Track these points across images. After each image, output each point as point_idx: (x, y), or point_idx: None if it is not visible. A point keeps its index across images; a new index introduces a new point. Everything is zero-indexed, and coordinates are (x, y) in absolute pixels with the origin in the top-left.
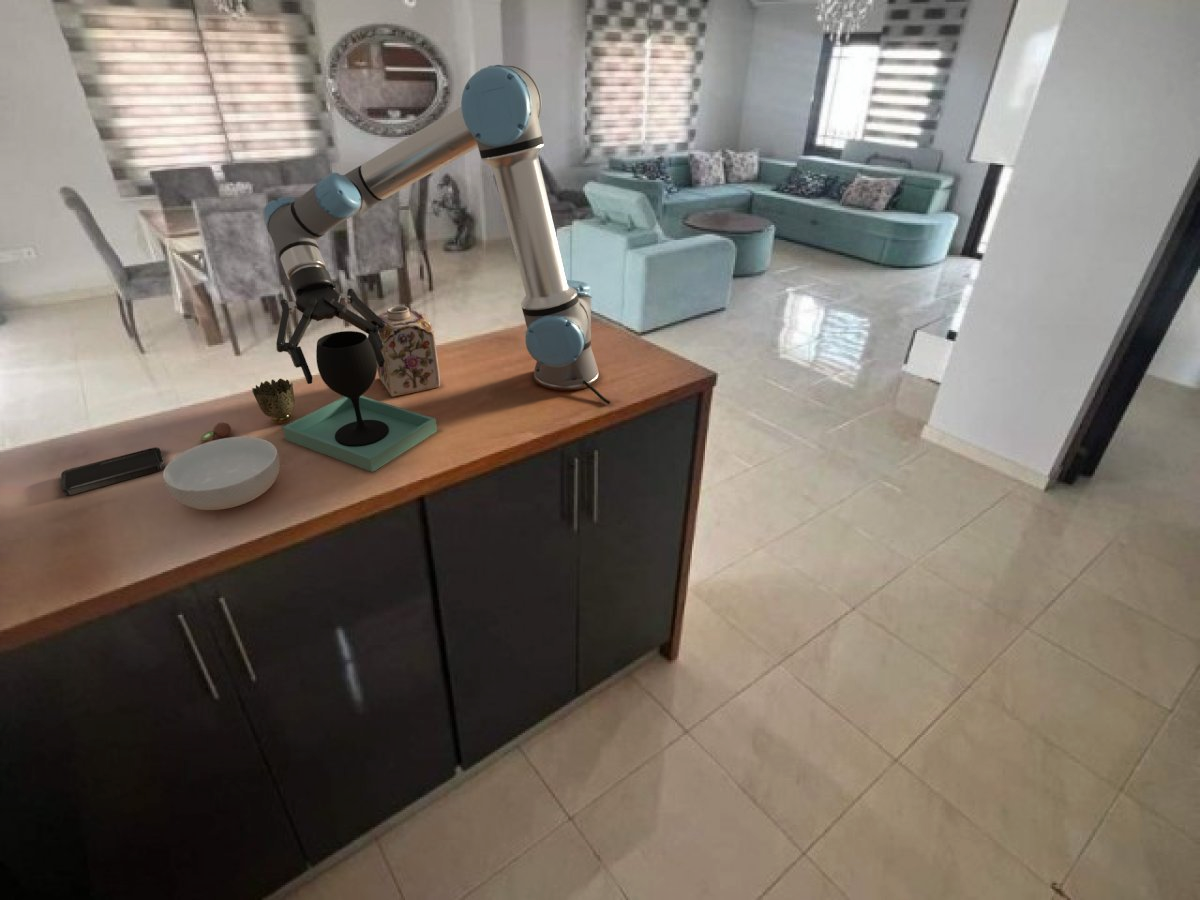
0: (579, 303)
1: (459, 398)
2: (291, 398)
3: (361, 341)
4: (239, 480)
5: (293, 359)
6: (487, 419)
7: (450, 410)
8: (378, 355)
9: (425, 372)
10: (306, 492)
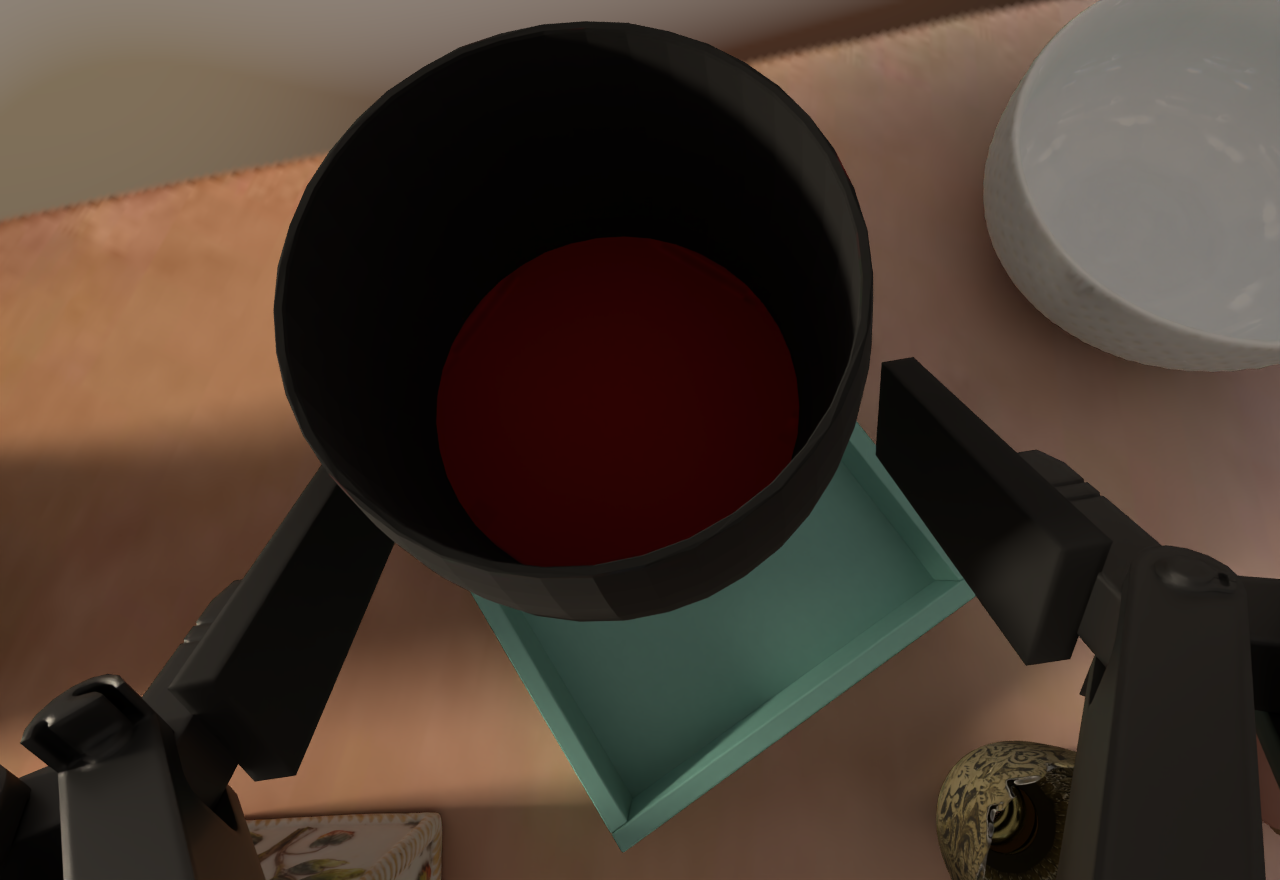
0: None
1: (177, 645)
2: (966, 794)
3: (377, 498)
4: (1115, 284)
5: (1082, 486)
6: (171, 399)
7: (260, 543)
8: (338, 490)
9: None
10: (875, 171)
